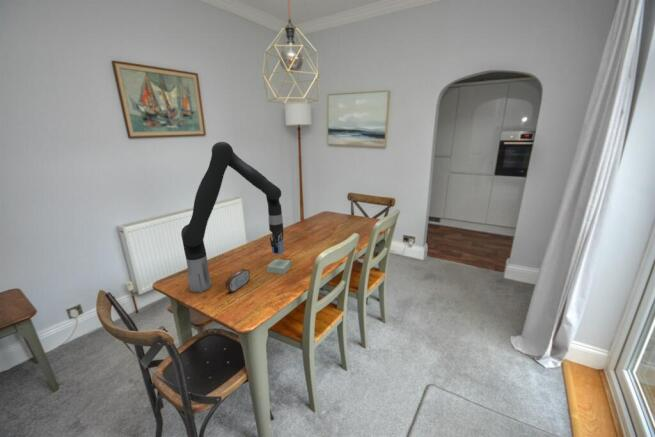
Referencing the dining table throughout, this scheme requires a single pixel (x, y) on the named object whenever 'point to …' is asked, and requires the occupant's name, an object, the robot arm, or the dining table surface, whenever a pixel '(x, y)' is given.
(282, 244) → the slate block
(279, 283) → the dining table surface
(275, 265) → the sage tile
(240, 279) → the tin
